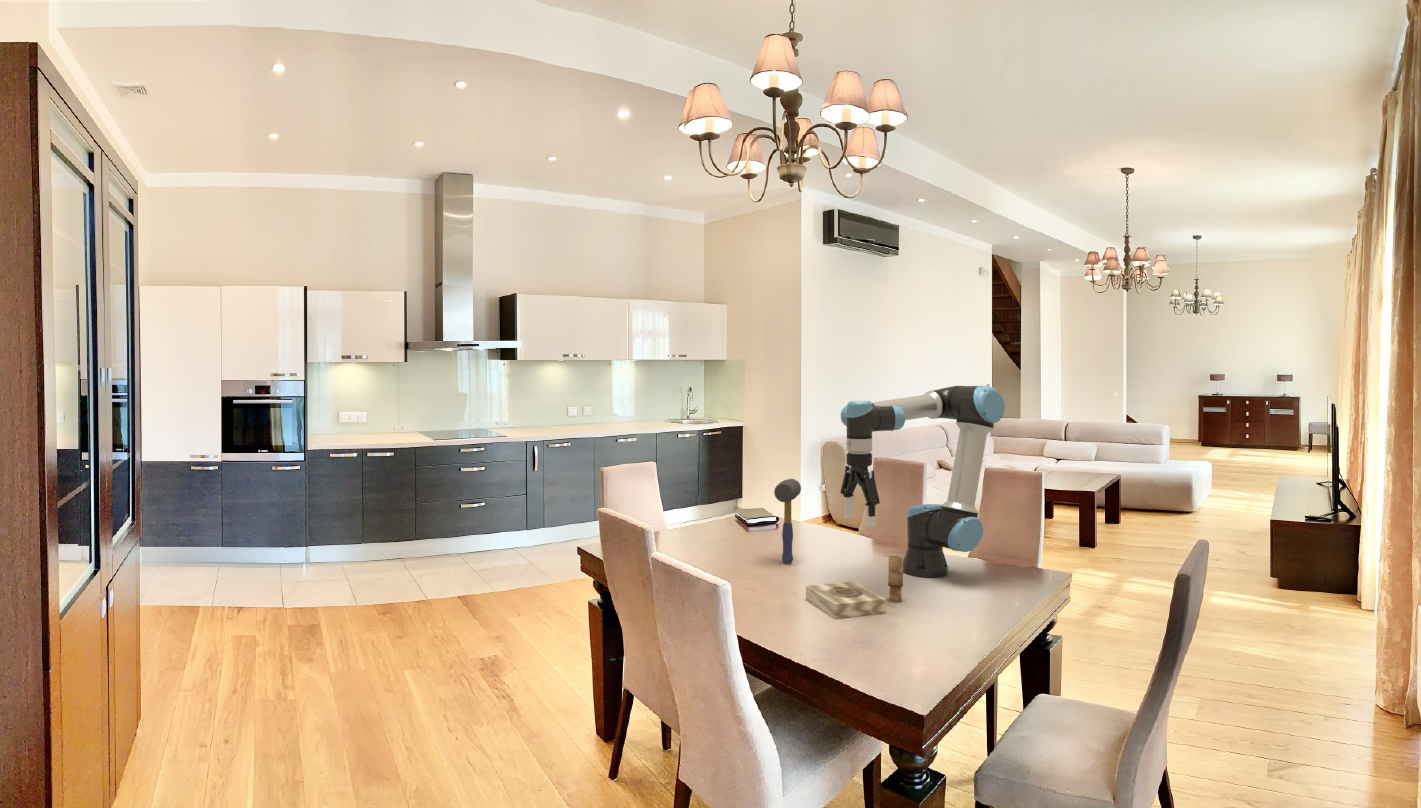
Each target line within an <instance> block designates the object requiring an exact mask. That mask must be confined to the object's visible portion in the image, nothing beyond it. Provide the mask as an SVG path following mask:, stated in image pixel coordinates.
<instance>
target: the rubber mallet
mask: <svg viewBox="0 0 1421 808" xmlns="http://www.w3.org/2000/svg"><path fill="white" fill-rule="evenodd" d="M801 491H802V486H801V483H800V482H799V481H798V480H797V479H795V478H788V479H784V480H782V481H780V482H779V483H778V484H777V485H776V486H775V488H774V491H773V495H774V496H775V498H776V499H777V501H778V502H781V503H784V508H783V509H784V511H783V512H784V514H783V515H784V516H783V517H784V519H783V525H782V533H781V537H782V538H781V539H782V556H781V560H782V562H783V563H784V564H785V565H790V564H792V563H793V561H794V554H793V540H794V529H793V524H792V523H793V522H792V501H793V500H795V499H796V498H797V497H798V496H799V495H800V494H801Z"/></svg>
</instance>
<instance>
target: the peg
mask: <svg viewBox="0 0 1421 808" xmlns="http://www.w3.org/2000/svg"><path fill="white" fill-rule="evenodd" d="M903 560H904V557H903V556H902V555H901V556H900V555H889V556H888V576H887V577H888V580H887V586H888V587H889V601H890V602H892V603H900V602H901V603H902V588H903V587H904V572H903Z"/></svg>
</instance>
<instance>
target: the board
mask: <svg viewBox="0 0 1421 808" xmlns="http://www.w3.org/2000/svg"><path fill="white" fill-rule="evenodd" d="M805 600H806V601H808V602H809V603H811V604H812V605H814V606H815V607H817V608H819V609H820V610H822V611H823V612H824V613H826V614H827V615H829V616H831V617H832V618H833V619H843V618H853V617H861V616H863V617H864V616H870V615H871V616H872V615H879V614H886V613H887V598H885V597H883V596H881V595H880V594H878V593H876V592H874V591H872V590H871V589H868V588H866V587H864V586H863V585H861V584H859V583H858V582H855V581H844V582H841V581H840V582H833V583H824V584H822V583H820V584H813V585H805Z"/></svg>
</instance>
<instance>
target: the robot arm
mask: <svg viewBox="0 0 1421 808" xmlns="http://www.w3.org/2000/svg"><path fill="white" fill-rule="evenodd" d="M1003 397H1004V396H1002V394H1001V393H1000V392H999V390H998V389H996V388H995V387H993V386H992V387H991V386H986V385H985V386H984V385H953V386H947V387H944V388H943V387H942V388H939V389H934V390H927V391H926V392H925V393H924V394H921V395H915V396H914V395H913V396H908V397H900V398H895V399H887V400H880V401H873V402H871V401H870V400H851V401H848V402H847V403H846V405H845V406H844V407H843V408H842V409H841V412H840V420H841V423H842V424H843V425H844V426H846V442H845V445H846V451H847V453H846V465H845V468H844V476H843V479H842V483H841V489H840V494H841V495H842V496H843V497H844V515H843V516H844V518H843V519H854V515H855V514H854V512H855V511H854V491H855V490H856V487H857V485H858V486H859V487H860V488H861V491H862V493H863V496H864V499H865V502H866V503H865V528H866V529H867V528H875V527H876V506H877V505H879V504H880V502H881V501H880V496H879V493H878V489H877V484H876V479H875V472H874V470H869V467H870V466H872V465H873V454H872V452H873V433H874V432H888V431H889V432H893V431H898V430H901V429H902V428H903V427H904V426H905V423H906V421H910V420H911V421H912V420H916V419H923V418H928V419H931V420H936V419H948V420H949V419H950V420H954V421H955V420H956V423H955V424H956V426H957V427H958V429H959V434H958V439H957V445H956V450H955V456H954V461H953V466H952V470H951V471H952V473H951V479H950V483H949V489H948V493H947V494H948V495H947V499H946V501H945V502H944V503H942V504H941V503H939V504H938V503H937V504H936V503H932V504H931V503H929V504H915V505H911V506H909V508H908V510H907V517H906V520H907V521H906V522H907V548H906V552H905V554H904V557H903V574H904V573H905V574H906V575H910V576H914V577H920V578H940V577H945V576H947V575H948V573H949V567H948V563H947V559H946V556H945V554H944V550H943V549H944V548H945V549H948V550H951V551H954V552H961V553H968V552H971V551H973V550H974V549H975V548H977V546H978V545H979V544H981V541H982V538H983V535H984V526H983V523H982V522H981V520H980V519H979V518H978V517H979V511H978V509H977V508H976V506H975V504H976V499H977V495H978V489H979V483H980V477H981V471H982V467H983V460H984V455H985V454H984V453H985V450H986V449H985V447H986V442H987V436H988V434H989V433H991V432H992V431H993V430H994V426H995V424H996V423H998V422H1000V421H1001V419H1002V418H1003V417H1004V414H1005V400H1004V398H1003Z"/></svg>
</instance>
